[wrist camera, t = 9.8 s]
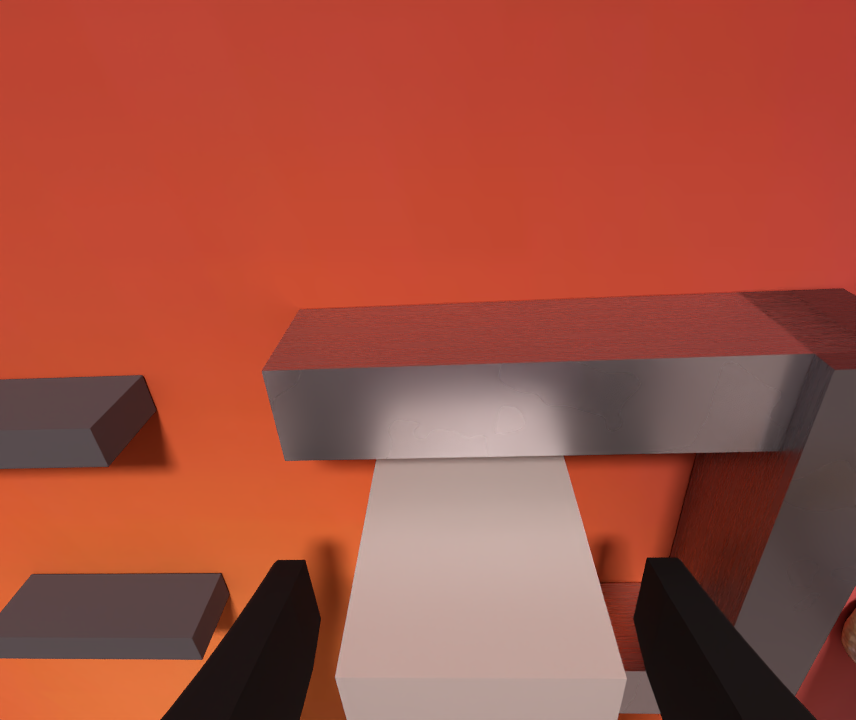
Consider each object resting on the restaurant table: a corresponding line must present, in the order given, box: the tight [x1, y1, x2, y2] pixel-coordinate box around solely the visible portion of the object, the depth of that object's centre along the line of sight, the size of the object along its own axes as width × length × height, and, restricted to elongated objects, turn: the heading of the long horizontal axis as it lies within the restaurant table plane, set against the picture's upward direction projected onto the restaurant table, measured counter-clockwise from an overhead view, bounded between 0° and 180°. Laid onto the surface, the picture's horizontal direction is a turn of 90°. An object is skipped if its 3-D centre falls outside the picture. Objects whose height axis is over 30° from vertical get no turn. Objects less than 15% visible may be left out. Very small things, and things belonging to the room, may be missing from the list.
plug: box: [335, 455, 627, 720], centre depth 11 cm, size 4×5×6 cm
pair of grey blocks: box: [0, 375, 229, 660], centre depth 13 cm, size 6×8×2 cm
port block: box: [262, 289, 856, 714], centre depth 12 cm, size 11×11×3 cm
